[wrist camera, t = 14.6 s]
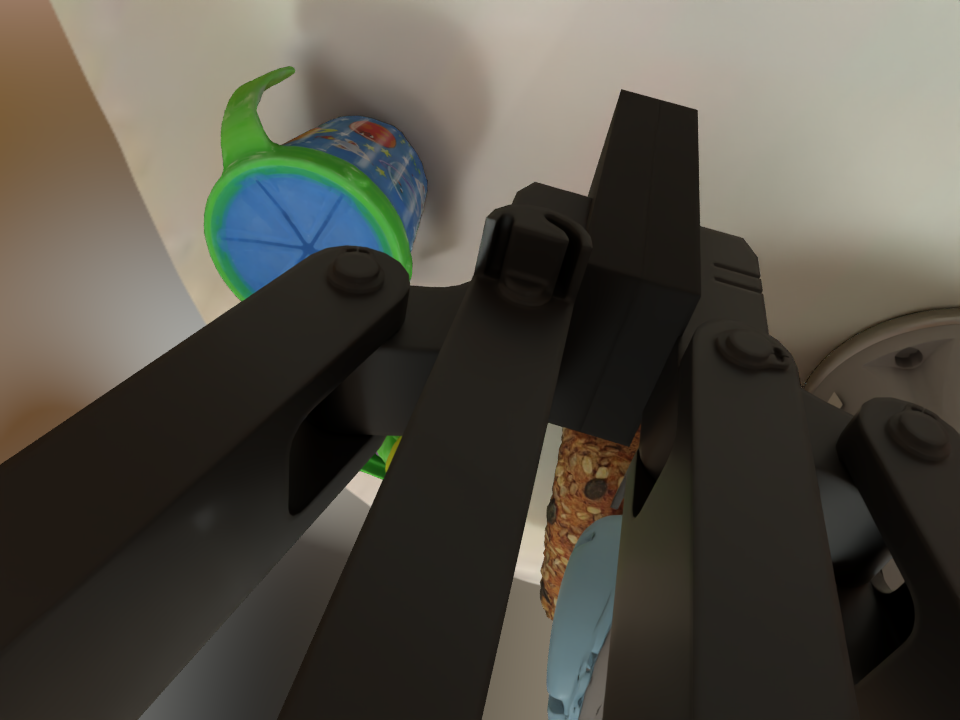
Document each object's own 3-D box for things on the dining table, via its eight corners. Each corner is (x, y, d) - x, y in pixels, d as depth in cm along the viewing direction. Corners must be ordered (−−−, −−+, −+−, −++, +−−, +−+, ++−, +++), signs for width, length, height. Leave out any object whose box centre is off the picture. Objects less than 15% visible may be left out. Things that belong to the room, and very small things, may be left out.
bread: (676, 563, 59) (674, 678, 51) (547, 536, 60) (526, 644, 53) (734, 391, 47) (742, 507, 39) (571, 364, 49) (549, 470, 41)
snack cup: (490, 271, 46) (449, 369, 38) (347, 295, 50) (283, 389, 42) (401, 13, 37) (325, 72, 30) (237, 66, 41) (132, 130, 33)
